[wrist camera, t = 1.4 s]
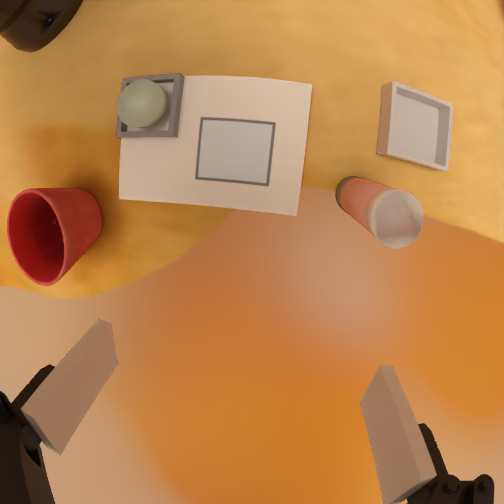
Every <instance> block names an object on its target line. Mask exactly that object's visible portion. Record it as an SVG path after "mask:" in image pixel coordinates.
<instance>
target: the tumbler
mask: <svg viewBox="0 0 504 504" xmlns="http://www.w3.org/2000/svg"><path fill="white" fill-rule="evenodd" d="M336 200H337V203H338V205H339V206H340V208H342V209H343V210H344V211H345V212H346V213H348V214H349V215H350V216H352V217H353V218H354V219H355V220H357V221H358V222H359V223H360V224H361V225H363V226H364V227H365V228H366V229H367V230H368V231H370V232H371V233H372V234H373V235H374V236H375V237H376V238H377V239H378V240H379V241H380V242H381V243H383V244H384V245H385V246H387V247H390V248H396V249H397V248H403V247H406V246H407V245H409V244H411V243H412V242H413V241H414V240H415V239H416V238H417V237H418V235H419V233H420V231H421V228H422V225H423V218H424V217H423V210H422V206H421V204H420V202H419V201H418V199H417V198H416V197H415V196H414V195H412V194H411V193H409V192H406V191H403V190H400V189H397V188H392V187H388V186H385V185H382V184H379V183H375V182H372V181H369V180H365V179H363V178H359V177H355V176H351V177H347V178H345V179H343V180H342V181H341V182H340V183H339V185H338V186H337V189H336Z"/></svg>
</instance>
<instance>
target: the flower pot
mask: <svg viewBox="0 0 504 504" xmlns="http://www.w3.org/2000/svg"><path fill="white" fill-rule="evenodd" d="M101 229H102V213H101V209H100V207H99V204H98V202H97V201H96V199H95V198H94V197H93V196H92V195H91V194H90V193H89V192H87V191H85V190H83V189H73V188H37V189H27V190H24V191H22V192H21V193H19V194H18V195H17V196H16V197H15V199H14V200H13V202H12V204H11V206H10V209H9V213H8V219H7V234H8V240H9V245H10V248H11V251H12V254H13V256H14V258H15V261H16V262H17V264H18V266H19V267H20V269H21V270H22V271H23V273H24V274H25V275H26V276H27V277H28V278H29V279H31V280H32V281H33V282H35V283H37V284H39V285H43V286H49V285H52V284H55V283H56V282H57V281H59V280H60V279H61V278H62V277H63V276H64V275H65V274H66V273H67V272H68V270H69V269H70V268H71V267H72V266H73V265H74V264H75V263H76V262H77V261H78V260H79V258H80V257H81V256H82V255H83V254H84V253H85V252H86V251H87V250H88V249H89V248H90V246H91V245H92V244H93V243H94V242H95V241H96V240H97V238H98V237H99V235H100V232H101Z"/></svg>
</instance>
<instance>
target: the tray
mask: <svg viewBox="0 0 504 504" xmlns="http://www.w3.org/2000/svg"><path fill="white" fill-rule="evenodd" d="M452 119H453V104H451V103H449V102H447V101H444V100H442V99H440V98H437V97H435V96H433V95H430V94H428V93H425V92H423V91H420V90H417V89H415V88H412V87H409V86H406V85H403V84H401V83H398V82H395V81H391V82H390V83H388V84H386V85H384V86H382V98H381V113H380V125H379V135H378V144H377V153H376V154H380V155H384V156H388V157H392V158H396V159H399V160H403V161H407V162H410V163H414V164H417V165H421V166H424V167H427V168H431V169H434V170H439V171H445V172H448V166H449V157H450V148H451V136H452Z"/></svg>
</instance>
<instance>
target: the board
mask: <svg viewBox="0 0 504 504" xmlns="http://www.w3.org/2000/svg"><path fill="white" fill-rule="evenodd" d="M140 79H147V80H151V81H153V82H155V83H156V84H158V85H160V86H161V87H162V88H163V89H164V90H165V91H166V93H167V97H168V106H167V110H166V112H165V114H164V116H163V117H162V118H161V120H160V121H159V122H157V123H156V124H155V125H153V126H150V127H147V128H137V127H131V126H128V125H126V124H124V123H123V122H122V121H121V120H120V118H119V116H118V119H117V129H116V138H121V149H120V169H119V199H124V200H139V201H154V202H167V203H179V204H190V205H201V206H212V207H222V208H231V209H241V210H250V211H259V212H267V213H275V214H283V215H291V216H297V210H298V202H299V196H300V188H301V181H302V173H303V165H304V157H305V148H306V140H307V131H308V122H309V112H310V102H311V91H312V84H308V83H301V82H294V81H286V80H278V79H268V78H257V77H242V76H208V75H204V76H183V75H182V74H181V73H177V74H161V75H149V76H140V77H131V78H124V79H123V81H122V87H121V92H122V91H123V89H124V88H125V87H126V86H127V85H129V84H130V83H132V82H134V81H136V80H140Z"/></svg>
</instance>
